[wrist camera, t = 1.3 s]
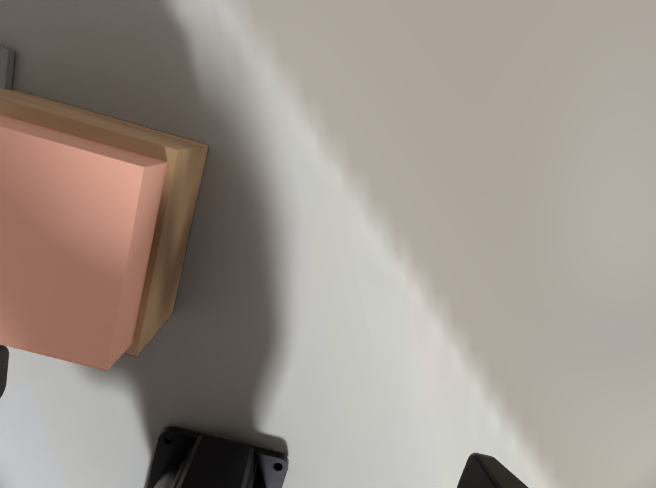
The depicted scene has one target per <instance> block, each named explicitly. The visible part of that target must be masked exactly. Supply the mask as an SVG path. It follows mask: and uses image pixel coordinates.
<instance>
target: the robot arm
mask: <svg viewBox="0 0 656 488" xmlns="http://www.w3.org/2000/svg"><path fill="white" fill-rule="evenodd" d="M8 359H9V351H8V349H7V347H6V346H4V345H0V398H1V396H2V394H3V392H4V390H5V387H6V381H7V370H8ZM167 436H171V437H172V438H173V439H169V438H168V437H167ZM288 461H289V460H288V458H287V456H286V455H284V454H282V453H279V452H275V451H271V450H267V449H263V448H258V447H254V446H250V445H246V444H242V443H238V442H234V441H230V440H226V439H222V438H218V437H214V436H210V435H206V434H202V433H198V432H193V431H189V430H185V429H181V428H177V427H173V426H169V427H166V428H164V429H163V430H162V432H161V434H160V436H159V438H158V443H157V447H156V452H155V456H154V461H153V465H152V470H151V474H150V478H149V483H148V487H147V488H282V486H283V482H284V479H285V476H286V473H287V470H288ZM275 463H281V464H282V465H276V464H275ZM457 488H528V487H527V486H526V485H525V484H524V483H523V482H521V481H520V480H519V479H518V478H517V477H516V476H515V475H513V474H512V473H511V472H510V471H509V470H508V469H507V468H505V467H504V466H503V465H502V464H501V463H500V462H499V461H497V460H496V459H495V458H494V457H492V456H488V455H484V454H479V453H473V454H471V455H470V456H469V458H468V460H467V462H466V465H465V468H464V470H463V473H462V475H461V478H460V480H459V483H458V486H457Z"/></svg>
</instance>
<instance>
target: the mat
mask: <svg viewBox="0 0 656 488" xmlns="http://www.w3.org/2000/svg"><path fill="white" fill-rule="evenodd" d="M14 59H15V51H14V50H11V49H7V48H4V47H1V46H0V88H1V89H9V90H11V87H12V78H13V68H14Z"/></svg>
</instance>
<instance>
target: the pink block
mask: <svg viewBox="0 0 656 488" xmlns="http://www.w3.org/2000/svg"><path fill="white" fill-rule="evenodd" d="M167 164H168V162H165V161H161V160H158V159H154V158H151V157H147V156H144V155H140V154H137V153H133V152H130V151H126V150H123V149H119V148H116V147H112V146H109V145H105V144H102V143H98V142H95V141H91V140H88V139H84V138H81V137H77V136H74V135H70V134H67V133H63V132H59V131H56V130H52V129H49V128H45V127H42V126H38V125H35V124H31V123H28V122H24V121H21V120H17V119H14V118H10V117H7V116H0V344H2V345H6V346H10V347H14V348H18V349H22V350H26V351H30V352H34V353H37V354H41V355H45V356H49V357H53V358H57V359H61V360H65V361H69V362H73V363H77V364H81V365H85V366H89V367H93V368H97V369H101V370H105V371H107V370H108V369H109V368H110V367H111V366H112V365H113V364H114V363H115V362H116V361H117V360H118V358H119V357H120V356H121V355H122V354H123V353H124V352H125V351H126V350H127V349H128V348H129V347H130V345H131V344H132V343H133V338H134V333H135V328H136V322H137V317H138V312H139V307H140V302H141V297H142V292H143V287H144V282H145V276H146V271H147V266H148V261H149V256H150V251H151V246H152V241H153V235H154V230H155V225H156V220H157V215H158V210H159V205H160V200H161V195H162V189H163V184H164V179H165V174H166V169H167Z"/></svg>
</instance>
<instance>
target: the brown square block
mask: <svg viewBox="0 0 656 488" xmlns="http://www.w3.org/2000/svg"><path fill="white" fill-rule="evenodd" d="M0 116H7V117H10V118H14V119H17V120H21V121H24V122H28V123H31V124H35V125H38V126H42V127H45V128H49V129H52V130H56V131H59V132H63V133H67V134H70V135H74V136H77V137H81V138H84V139H88V140H91V141H95V142H98V143H102V144H105V145H109V146H112V147H116V148H119V149H123V150H126V151H130V152H133V153H137V154H140V155H144V156H147V157H151V158H154V159H158V160H161V161H165V162H168V164H167V169H166V174H165V179H164V184H163V189H162V195H161V200H160V205H159V210H158V215H157V220H156V225H155V230H154V235H153V241H152V246H151V251H150V256H149V261H148V266H147V271H146V276H145V282H144V287H143V292H142V297H141V302H140V307H139V312H138V317H137V322H136V328H135V333H134V338H133V343H132V344H131V345H130V347H129V348H128V349H127V350H126V351H125V352H124V353H125V354H129V355H133V356H136V357H137V356H138V354H139V353H140V352H141V351H142V350H143V348H144V347H145V346H146V345H147V344H148V343H149V341H150V340H151V339H152V338H153V337H154V336H155V334H156V333H157V332H158V331H159V330H160V328H161V327H162V326H163V325H164V324H165V323H166V321H167V320H168V319H169V318H170V317H171V315H172V314H173V309H174V305H175V300H176V295H177V291H178V286H179V281H180V277H181V272H182V267H183V263H184V258H185V254H186V249H187V244H188V240H189V235H190V230H191V226H192V221H193V216H194V212H195V207H196V203H197V198H198V193H199V189H200V184H201V179H202V175H203V170H204V166H205V161H206V156H207V152H208V147H209V145H205V144H202V143H198V142H195V141H191V140H188V139H184V138H181V137H178V136H174V135H171V134H167V133H164V132H160V131H157V130H153V129H150V128H146V127H143V126H139V125H136V124H133V123H129V122H126V121H122V120H119V119H115V118H112V117H108V116H105V115H101V114H98V113H94V112H91V111H87V110H84V109H81V108H77V107H74V106H70V105H67V104H63V103H60V102H56V101H53V100H49V99H46V98H42V97H39V96H35V95H32V94H29V93H25V92H22V91H17V90H9V89H1V88H0Z"/></svg>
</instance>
